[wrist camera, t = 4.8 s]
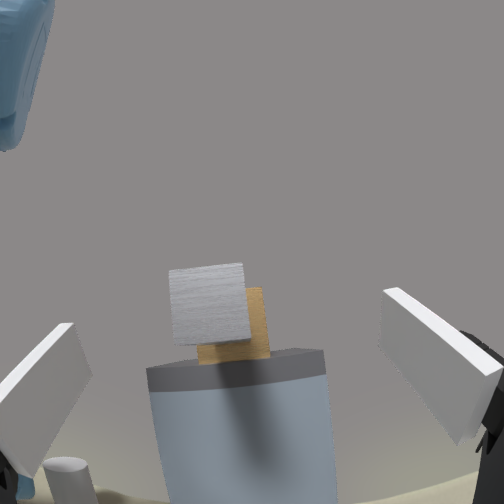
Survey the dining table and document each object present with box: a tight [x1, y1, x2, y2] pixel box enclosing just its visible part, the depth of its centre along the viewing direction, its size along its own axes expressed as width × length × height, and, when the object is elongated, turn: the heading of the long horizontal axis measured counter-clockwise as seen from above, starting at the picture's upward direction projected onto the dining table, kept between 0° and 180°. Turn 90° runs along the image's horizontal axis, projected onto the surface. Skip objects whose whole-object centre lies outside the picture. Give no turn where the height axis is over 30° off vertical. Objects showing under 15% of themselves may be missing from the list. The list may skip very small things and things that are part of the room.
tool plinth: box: [146, 348, 338, 504], centre depth 26 cm, size 16×14×30 cm
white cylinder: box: [43, 457, 99, 504], centre depth 31 cm, size 8×8×12 cm
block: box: [169, 263, 271, 364], centre depth 23 cm, size 24×6×6 cm, turn 0°
